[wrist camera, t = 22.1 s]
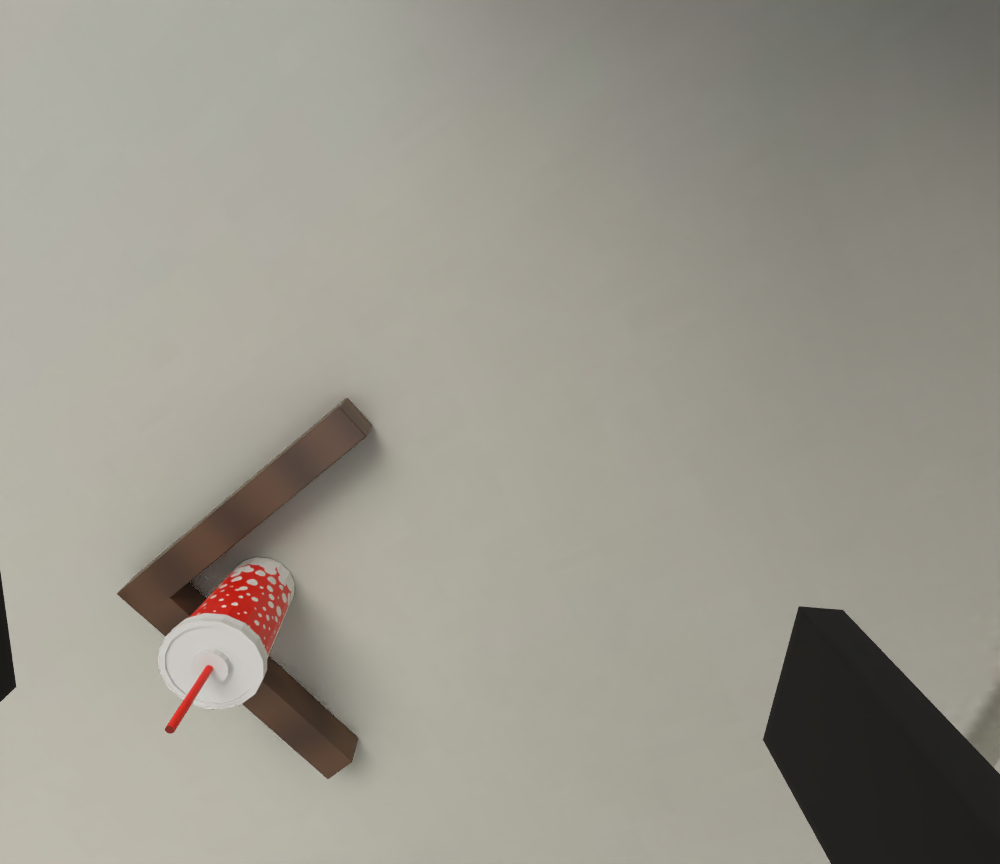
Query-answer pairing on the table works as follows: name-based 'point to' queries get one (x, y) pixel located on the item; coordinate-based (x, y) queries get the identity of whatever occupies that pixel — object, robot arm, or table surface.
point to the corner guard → (167, 578)
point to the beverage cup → (227, 639)
